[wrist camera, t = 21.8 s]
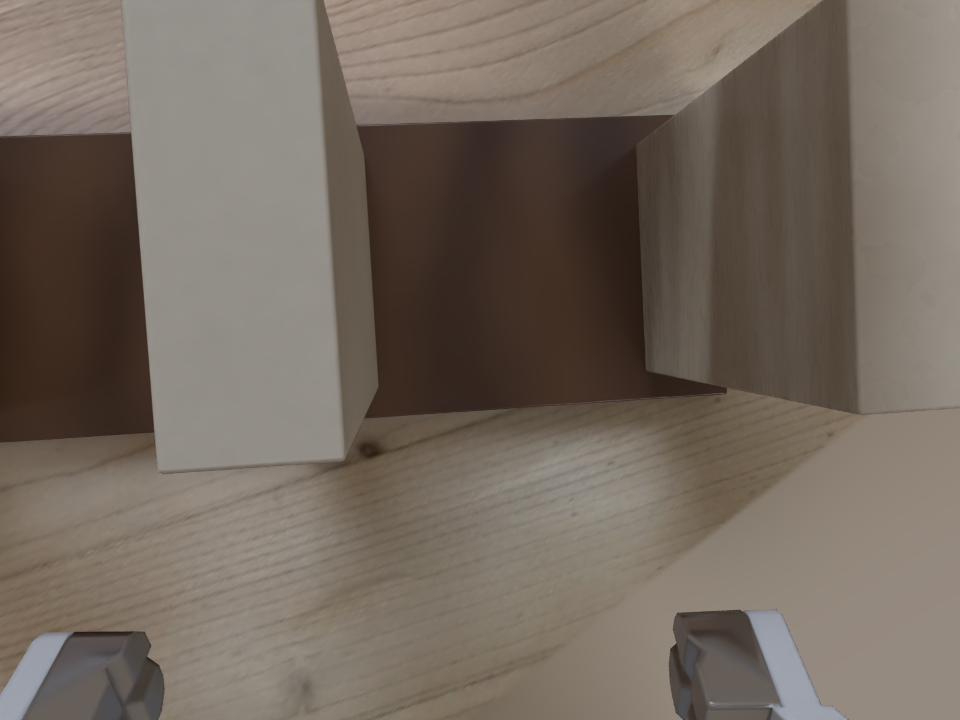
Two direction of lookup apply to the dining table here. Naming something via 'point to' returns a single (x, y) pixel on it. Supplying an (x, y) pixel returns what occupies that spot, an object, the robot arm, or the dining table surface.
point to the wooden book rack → (576, 246)
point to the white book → (249, 233)
